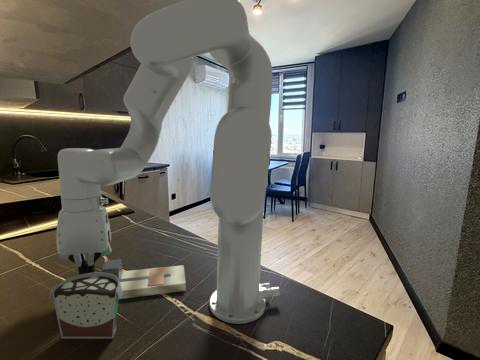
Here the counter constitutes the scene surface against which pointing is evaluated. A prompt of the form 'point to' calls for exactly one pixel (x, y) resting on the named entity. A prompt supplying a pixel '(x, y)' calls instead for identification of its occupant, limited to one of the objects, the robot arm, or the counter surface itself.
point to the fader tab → (113, 268)
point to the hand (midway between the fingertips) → (87, 279)
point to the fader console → (152, 281)
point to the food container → (87, 305)
